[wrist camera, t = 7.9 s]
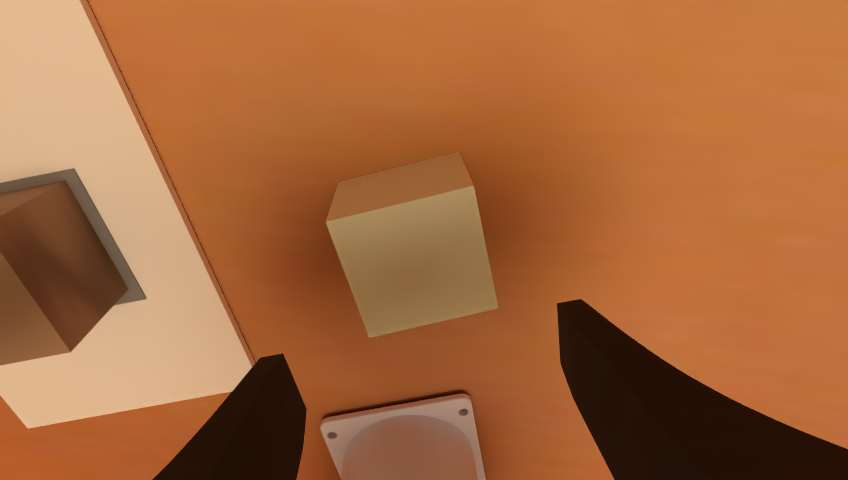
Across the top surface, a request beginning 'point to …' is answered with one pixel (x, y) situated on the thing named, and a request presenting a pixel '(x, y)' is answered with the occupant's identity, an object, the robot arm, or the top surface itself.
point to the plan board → (108, 227)
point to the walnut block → (50, 273)
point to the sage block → (412, 245)
